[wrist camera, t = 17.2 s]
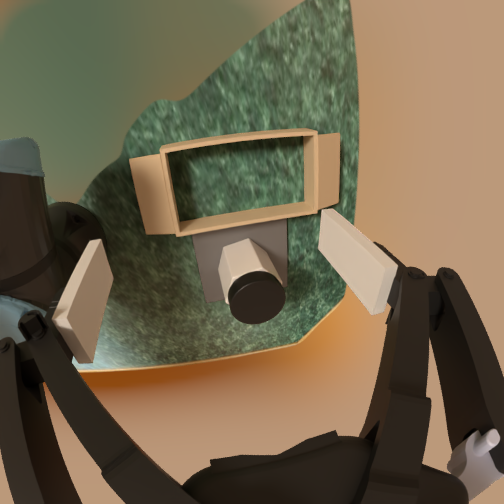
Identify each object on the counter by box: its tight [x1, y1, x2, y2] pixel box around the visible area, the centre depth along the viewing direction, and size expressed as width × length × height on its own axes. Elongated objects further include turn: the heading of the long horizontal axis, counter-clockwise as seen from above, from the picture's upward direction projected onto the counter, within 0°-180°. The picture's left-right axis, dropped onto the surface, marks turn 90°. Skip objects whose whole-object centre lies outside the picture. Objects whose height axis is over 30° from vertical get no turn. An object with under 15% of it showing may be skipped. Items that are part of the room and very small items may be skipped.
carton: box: [129, 128, 340, 237], centre depth 41 cm, size 32×13×4 cm, turn 95°
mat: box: [192, 218, 287, 303], centre depth 50 cm, size 16×16×1 cm
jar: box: [218, 238, 285, 324], centre depth 45 cm, size 9×8×12 cm
